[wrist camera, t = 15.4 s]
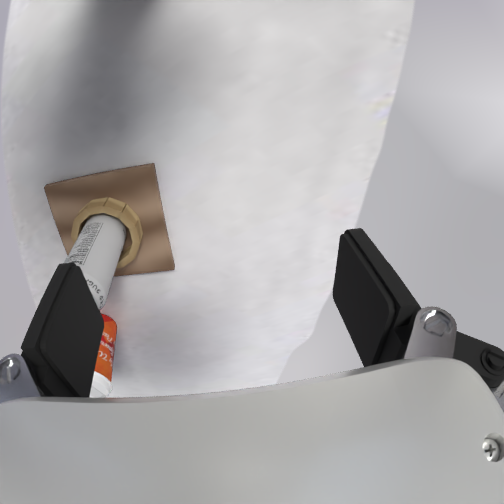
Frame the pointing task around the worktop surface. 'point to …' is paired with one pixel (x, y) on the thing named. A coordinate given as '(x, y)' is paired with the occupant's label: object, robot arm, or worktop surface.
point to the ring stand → (117, 214)
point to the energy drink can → (99, 253)
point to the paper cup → (104, 361)
